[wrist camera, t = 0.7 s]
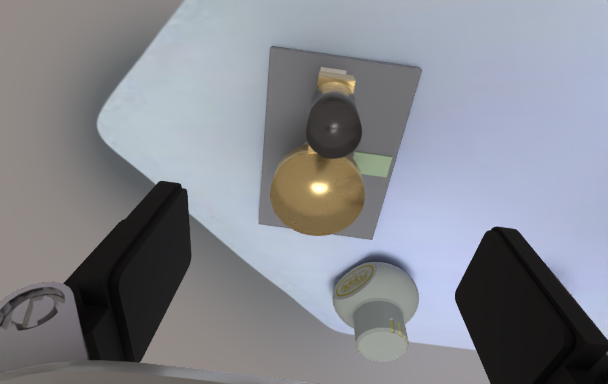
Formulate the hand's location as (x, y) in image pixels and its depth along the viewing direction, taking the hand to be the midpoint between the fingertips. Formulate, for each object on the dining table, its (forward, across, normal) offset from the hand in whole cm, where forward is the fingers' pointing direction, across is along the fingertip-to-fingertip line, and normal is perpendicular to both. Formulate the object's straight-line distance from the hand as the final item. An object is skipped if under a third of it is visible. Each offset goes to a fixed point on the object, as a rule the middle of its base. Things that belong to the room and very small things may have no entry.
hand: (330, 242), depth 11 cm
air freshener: (+26, -10, +26) cm, 38 cm away
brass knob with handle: (+18, 0, +5) cm, 19 cm away
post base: (+25, -1, +8) cm, 27 cm away
